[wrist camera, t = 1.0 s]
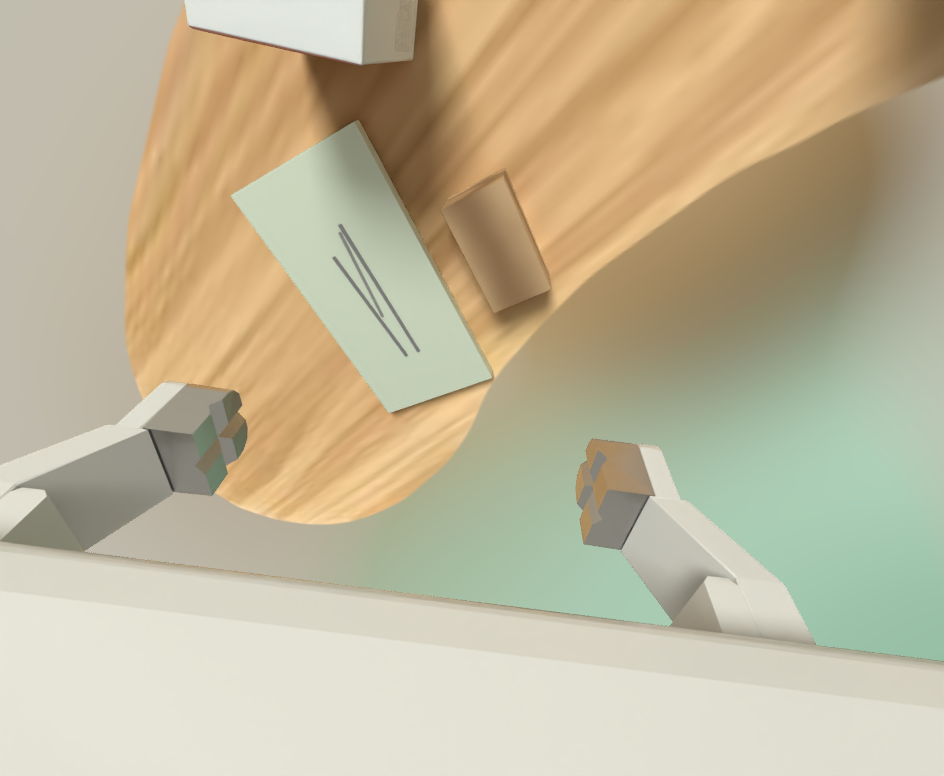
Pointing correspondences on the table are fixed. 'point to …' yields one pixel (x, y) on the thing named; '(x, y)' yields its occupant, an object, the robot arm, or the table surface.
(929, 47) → the table surface
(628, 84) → the table surface
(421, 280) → the board
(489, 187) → the block
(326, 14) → the small box
